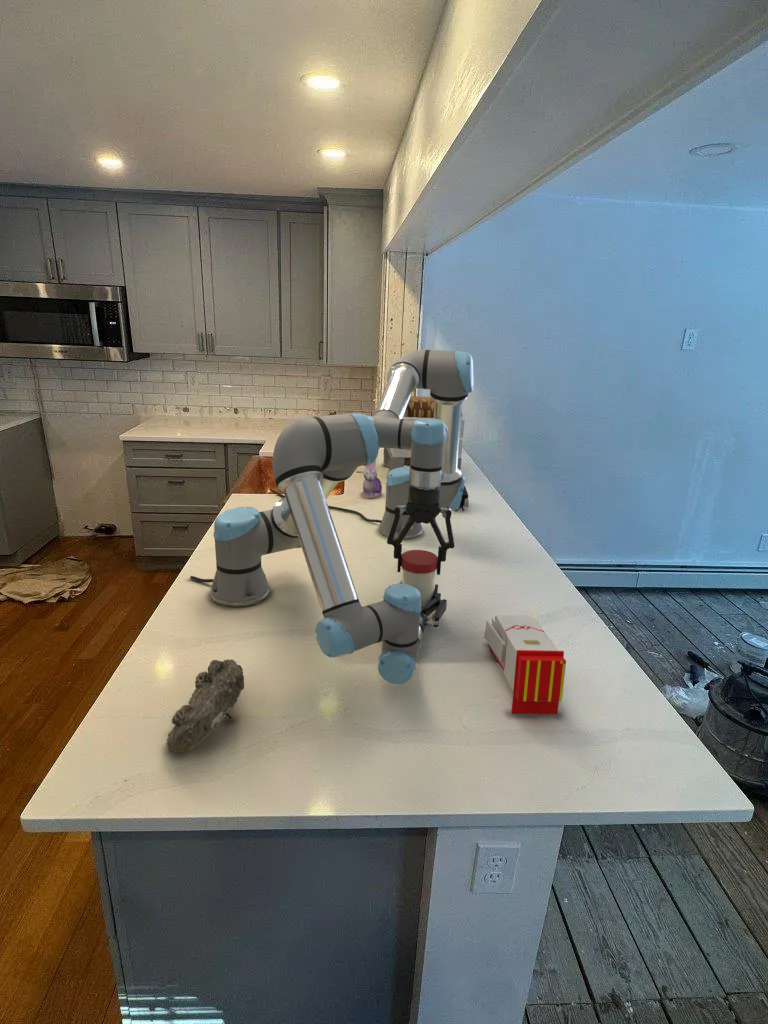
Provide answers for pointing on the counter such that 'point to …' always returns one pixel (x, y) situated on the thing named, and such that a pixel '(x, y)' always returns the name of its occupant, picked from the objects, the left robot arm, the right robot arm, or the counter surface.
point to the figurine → (371, 482)
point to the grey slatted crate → (415, 411)
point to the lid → (419, 561)
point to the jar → (420, 584)
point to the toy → (527, 663)
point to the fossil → (206, 705)
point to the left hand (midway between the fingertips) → (419, 586)
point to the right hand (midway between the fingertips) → (418, 571)
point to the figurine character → (464, 499)
